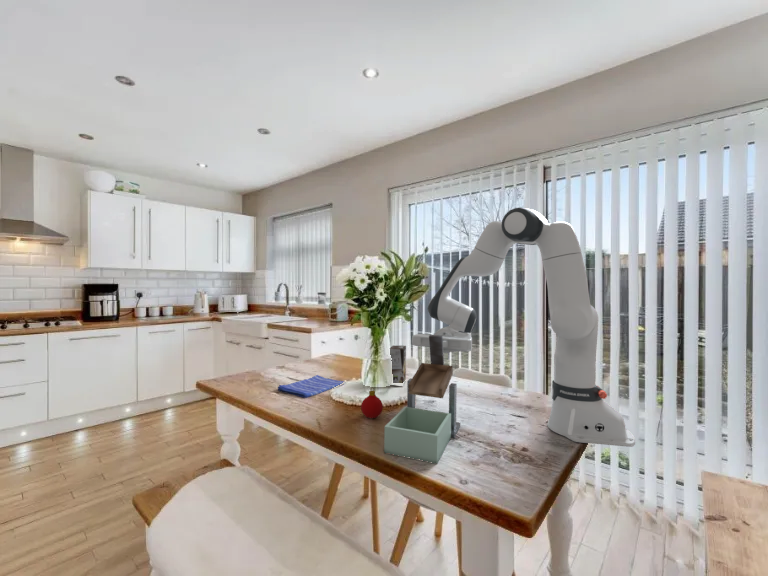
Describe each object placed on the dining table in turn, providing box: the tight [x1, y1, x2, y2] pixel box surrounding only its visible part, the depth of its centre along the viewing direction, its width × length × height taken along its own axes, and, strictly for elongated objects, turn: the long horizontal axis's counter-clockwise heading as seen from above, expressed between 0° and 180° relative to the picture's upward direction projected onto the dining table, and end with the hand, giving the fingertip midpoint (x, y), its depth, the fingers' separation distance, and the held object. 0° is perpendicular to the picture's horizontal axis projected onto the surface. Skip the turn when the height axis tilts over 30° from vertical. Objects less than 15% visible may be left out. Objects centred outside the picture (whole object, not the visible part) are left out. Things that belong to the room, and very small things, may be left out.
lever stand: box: [406, 378, 461, 439], centre depth 108 cm, size 16×9×14 cm, turn 67°
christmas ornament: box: [360, 387, 384, 419], centre depth 116 cm, size 7×7×10 cm
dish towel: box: [277, 374, 345, 399], centre depth 149 cm, size 17×24×3 cm
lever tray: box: [408, 334, 454, 399], centre depth 107 cm, size 10×15×12 cm, turn 157°
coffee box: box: [389, 345, 407, 383], centre depth 155 cm, size 9×6×16 cm
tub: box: [383, 406, 452, 464], centre depth 97 cm, size 14×16×7 cm
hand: (436, 344), depth 113 cm, fingers closed, pressing on lever tray
